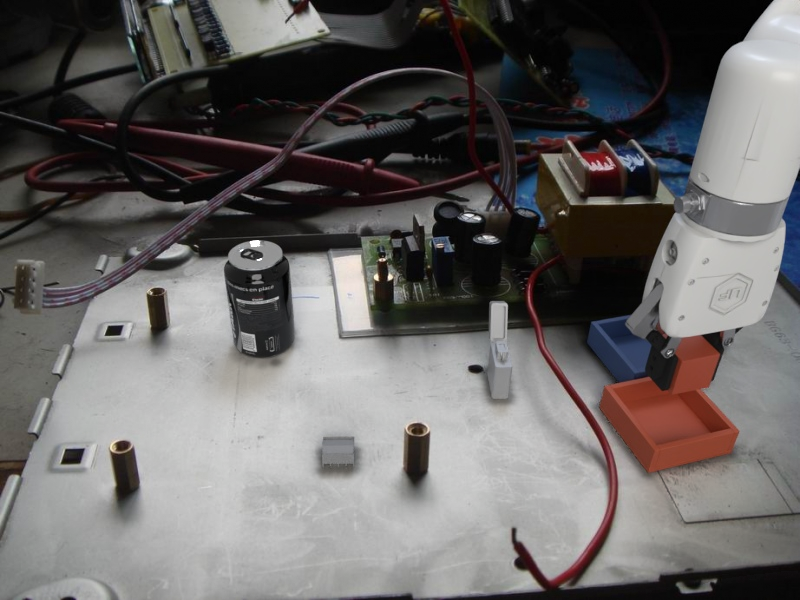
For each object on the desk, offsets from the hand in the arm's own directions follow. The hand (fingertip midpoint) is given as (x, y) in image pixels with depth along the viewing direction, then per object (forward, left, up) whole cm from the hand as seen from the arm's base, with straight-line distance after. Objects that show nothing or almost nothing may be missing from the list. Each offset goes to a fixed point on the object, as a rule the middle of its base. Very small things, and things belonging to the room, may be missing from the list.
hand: (678, 375), depth 70 cm
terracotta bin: (0, 0, -7) cm, 7 cm away
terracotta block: (0, 0, 0) cm, 0 cm away
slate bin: (-4, -10, -7) cm, 13 cm away
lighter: (+13, -12, -7) cm, 19 cm away
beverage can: (+36, -24, -7) cm, 44 cm away
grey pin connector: (+32, -5, -7) cm, 33 cm away
